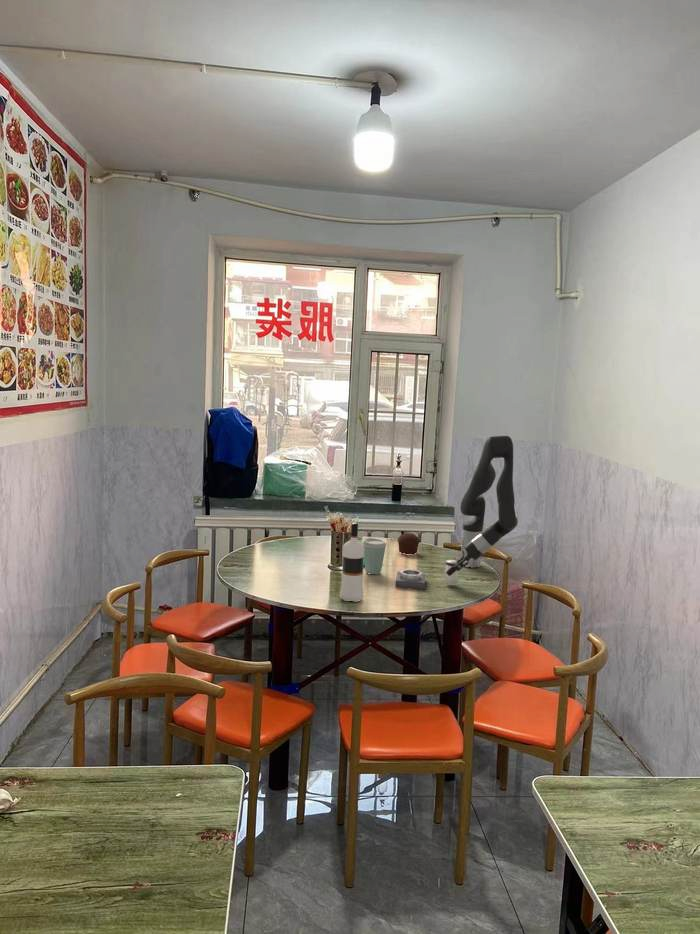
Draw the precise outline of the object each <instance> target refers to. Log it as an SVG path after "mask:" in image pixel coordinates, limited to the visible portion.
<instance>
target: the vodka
mask: <svg viewBox="0 0 700 934" xmlns="http://www.w3.org/2000/svg"><path fill="white" fill-rule="evenodd" d="M350 527H351V529H350V531H351V532H350V540H347V541H345V543H344V544H343V546H342V567H341V569H342V572H341V584H340V586H341V587H340V590H339V598H342V599H344V600H349V601H357V600H361V601H363V600H364V586H363V584H364V583H363V581H364V580H363V578H364V565H363V561H364V550H365V548H364V545H363V544H362V543H361V542H362V541H360V540H358V539H359V538H358V536H359V535H358V533H359V524H358V523H357V522H351V526H350ZM342 599H341V600H342Z"/></svg>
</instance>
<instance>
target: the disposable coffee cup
mask: <svg viewBox="0 0 700 934" xmlns="http://www.w3.org/2000/svg"><path fill="white" fill-rule="evenodd" d="M363 541H364V542H363V543H362V544H363V545H364V548H365V550H364V561H365V565H364V568H365V570H364V571H365V572H367V573H370V574H378V575H380V574H381V572H382V570H383V569H382V568H383V563H384V557H385V553H386V547H387V543H386V542H385V541H384V540H383V539H380V538H375V537H367V538H364V539H363ZM367 573H366V574H367ZM379 573H380V574H379ZM370 574H369V575H370Z"/></svg>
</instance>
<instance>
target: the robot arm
mask: <svg viewBox="0 0 700 934" xmlns="http://www.w3.org/2000/svg"><path fill="white" fill-rule="evenodd" d="M513 443H514V442H513V439H512V438H511V437H510V436H509V435H493V436H489V437H487V438H486V440H485V442H484V444H483V448H482V451H481V456H480V457H479V461H478V465H477V466H476V469H475V470H474V473H473V476H472V478H471V481H470V484H469V485H468V486H469V487H467V490H466V491H465V493H464V495H463V497H462V499H461V502H460V513H461V514H462V515H464V516H468V517H473V518H472V519H471V520H468V521H466V522H464V523H463V524H462V535H461V536H462V537H461V547H460V548H461V552H460V553H459V554H458V555H456V557H454V558H453V560H457V561H456V564H455V565H453V567H451V568H450V569H449V570H448V571H447V572H446V571H445V572H446V573H447V574H448V575H449V576H451V575H452V574H453V573H454V572H455V571H458V572H459V571H460V570H462V569H463V568H464V566H465V568H468V567H471V568H470V569H476V568H475V567H478V568H480V567H481V559H482V558H481V557H482V556H483V555H484V554H485V553H487V552H488V551H489V550H490V549H491V548H492V547H493V546H494V545H495V544H497V543H498V542H499V540H501V539H502V538H503V537H504V536H506V535H508V534H509V533H510V532H512V531H513V530H515V528H517V526H518V523H519V522H518V517H517V516H516V509H515V504H516V503H515V489H514V479H513V478H514V475H513V474H514V444H513ZM501 458H503V467H502V471H501V473H500V476H499V478H498V480H497V483H496V488H495V490H496V491H495V492H496V499H497V500H496V502H497V506H498V508H497V510H498V520H497V521H496V522H494V523H493V524H492V525H489V526H488V527H487V528H485V529H484V530H483V527H484V522H485V513H486V500H485V499H486V498H485V497H483V496H481V495H483V494H485V493H487V492H488V491H489V490H490V489H491V488H492V487H493V484H494V482H495V481H496V476H497V475H496V474H497V473H496V471H495V467H494V466H493V464H492V461H493V459H501ZM458 565H459V567H458ZM473 567H474V568H473Z"/></svg>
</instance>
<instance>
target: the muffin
mask: <svg viewBox="0 0 700 934" xmlns="http://www.w3.org/2000/svg"><path fill="white" fill-rule="evenodd" d="M396 540H397V542H398V544H397V545H398V553H399V552H401V553H405V554H415V553H418V548H419V544H420V542H421V540H420V539H419V537H418V536H417V535H416V534H415V533H413V532H405V533H402V534H401V535H399V537H398V538H397V539H396Z"/></svg>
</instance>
